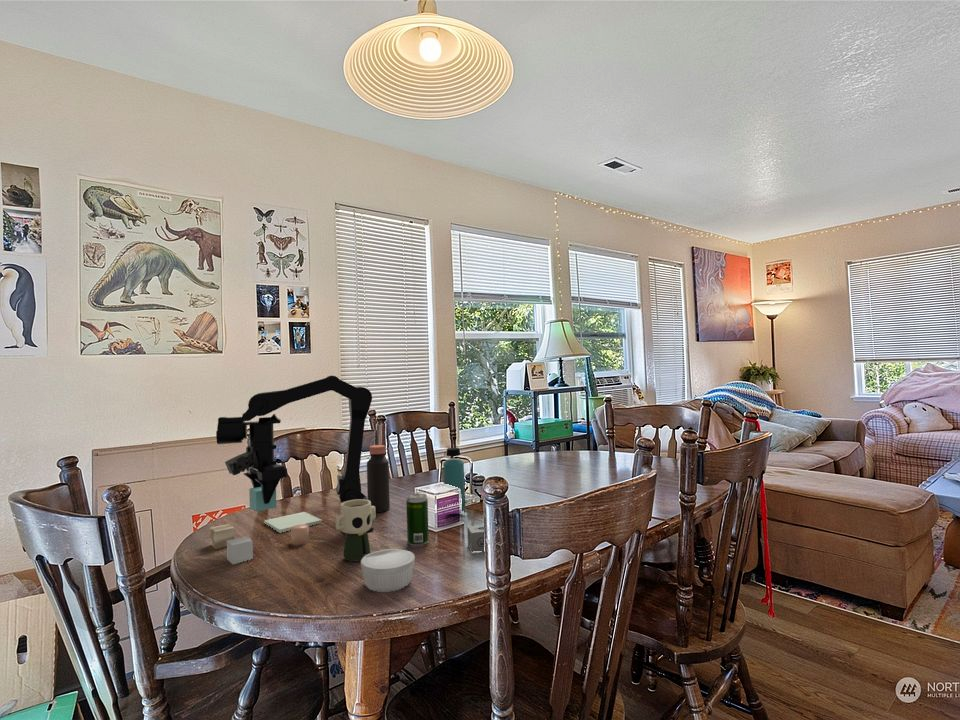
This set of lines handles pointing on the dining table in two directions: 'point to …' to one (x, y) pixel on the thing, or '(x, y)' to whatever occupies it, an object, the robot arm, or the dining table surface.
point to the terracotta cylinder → (299, 534)
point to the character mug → (356, 527)
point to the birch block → (221, 535)
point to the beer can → (417, 519)
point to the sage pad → (292, 521)
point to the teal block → (260, 500)
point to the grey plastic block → (239, 550)
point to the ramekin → (388, 569)
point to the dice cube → (476, 538)
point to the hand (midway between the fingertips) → (262, 501)
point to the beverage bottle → (455, 472)
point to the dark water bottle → (378, 479)
